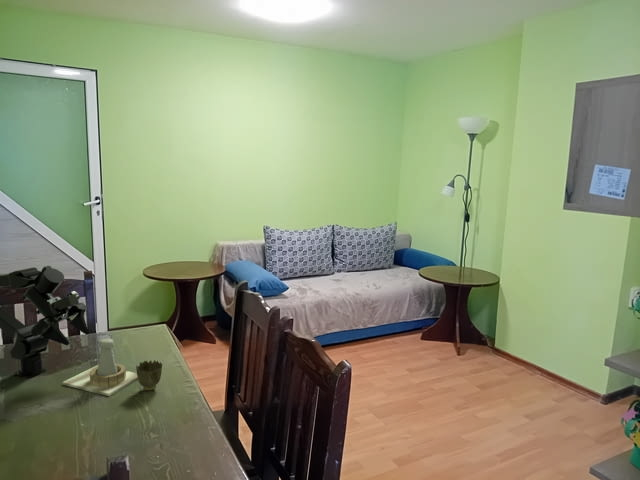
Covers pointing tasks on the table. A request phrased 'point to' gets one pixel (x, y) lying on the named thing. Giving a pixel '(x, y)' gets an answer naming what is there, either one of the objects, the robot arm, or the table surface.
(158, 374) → the cup
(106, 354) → the salt shaker
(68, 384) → the socket
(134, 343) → the table surface
